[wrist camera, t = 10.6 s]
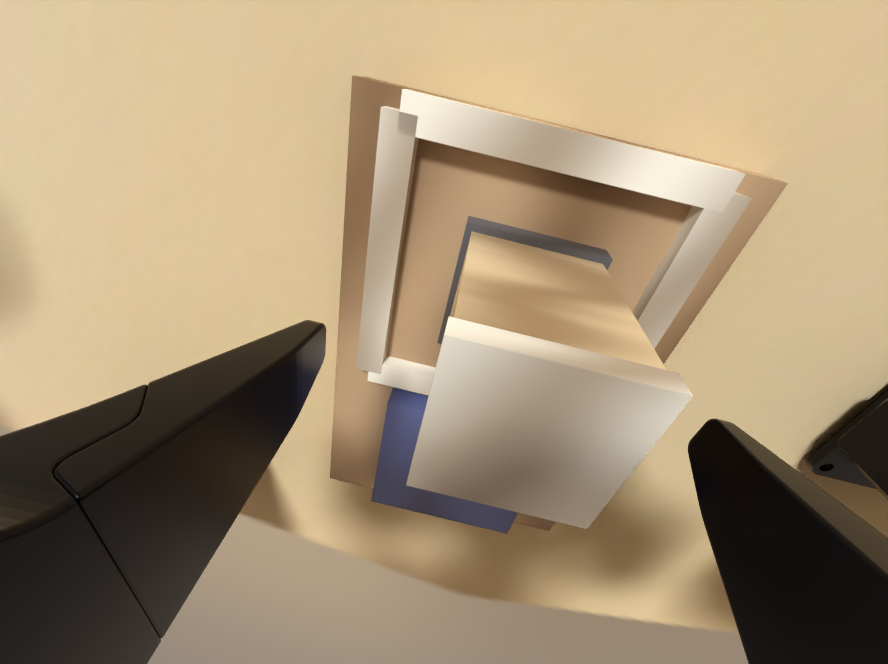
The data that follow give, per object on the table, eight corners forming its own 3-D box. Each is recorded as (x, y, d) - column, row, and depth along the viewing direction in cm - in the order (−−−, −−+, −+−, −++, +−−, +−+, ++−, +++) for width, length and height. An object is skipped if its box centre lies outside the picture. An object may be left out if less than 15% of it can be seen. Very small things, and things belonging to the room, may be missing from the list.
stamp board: (761, 175, 11) (813, 191, 9) (546, 509, 21) (551, 549, 19) (365, 77, 11) (338, 74, 9) (338, 459, 21) (322, 495, 19)
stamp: (606, 249, 12) (703, 393, 6) (554, 359, 14) (589, 532, 8) (468, 215, 12) (439, 328, 6) (440, 330, 14) (401, 486, 8)
